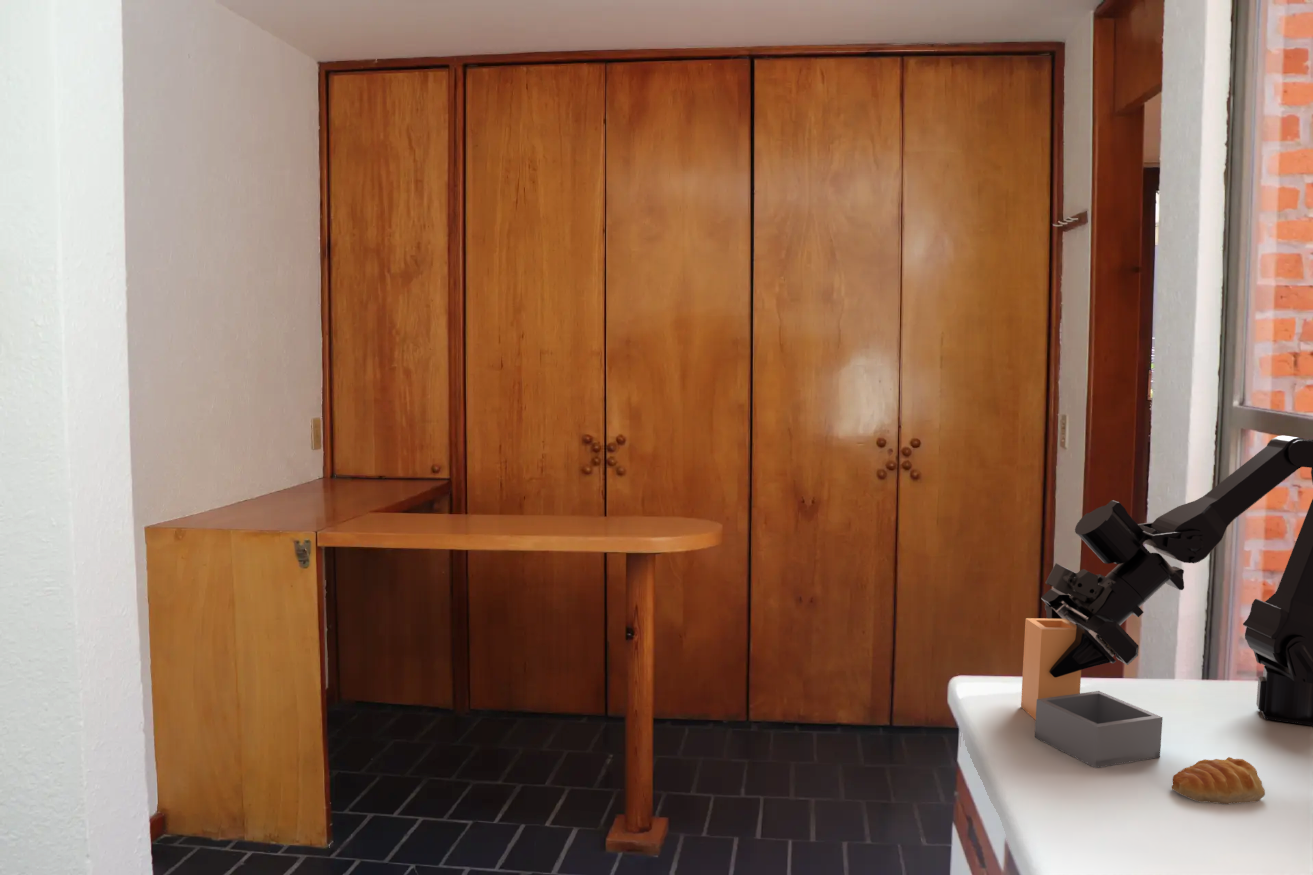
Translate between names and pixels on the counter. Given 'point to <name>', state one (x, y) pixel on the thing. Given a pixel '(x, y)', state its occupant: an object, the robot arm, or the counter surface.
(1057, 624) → the orange hollow square block
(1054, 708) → the grey crate
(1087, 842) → the counter surface
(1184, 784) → the pastry
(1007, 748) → the counter surface
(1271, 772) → the counter surface
